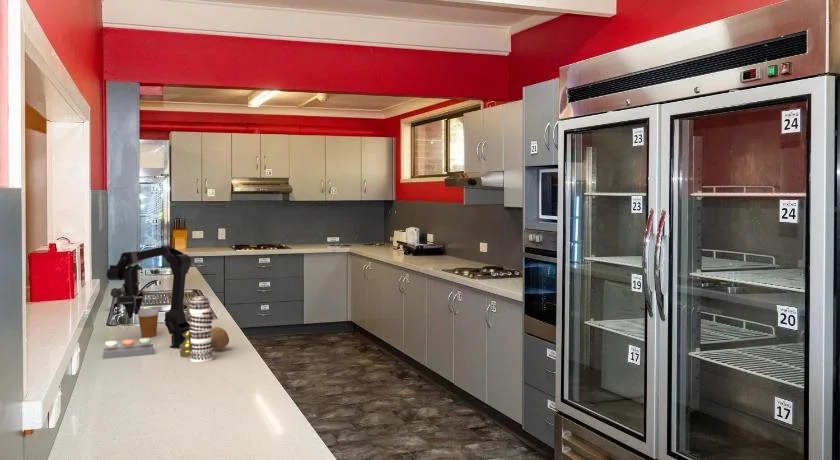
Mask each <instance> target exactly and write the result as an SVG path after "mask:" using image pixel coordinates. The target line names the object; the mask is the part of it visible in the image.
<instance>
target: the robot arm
mask: <svg viewBox="0 0 840 460" xmlns="http://www.w3.org/2000/svg"><path fill="white" fill-rule="evenodd" d="M161 256H162V257H163V258H164V259H165V260H166V262H167V263H169V264H170V270H171V272H172V275H173V278H172V279H173V280H172V290H171V301H170V302H171V303H170V309H169V310H167V311H165V312H164V320H163V322H164V325H165V327H166V328H167V331H168V333H169V335H171V345H170V346H169V348H173V349H180V344H182V343H183V342H184V341H185V337H184V336H183V335H182V334H183V333H184V332H186V331H190V329H189V327H190V325H189V323H190V322H188V321H187V319H186V313H185V311H184V308H183V306H184V297H185V295H184V294H185V287H186V285H185V284H186V276H187V274H188V272H189V270H190V267H191V264H192V258H191V257H190V256H189V255H188V254H185V253H183V252H182V251H180V250H178V249H176V248H174V247H173V246H171V245H170V244H169V245H162V246H159V247H155V248H151V249H150V248H149V249H146V250H132V251H126V252H125V251H124V252H122V253H121V255H120V259H119V260H118V262H117V264H110V265H109V267H108V270H107V272H106V277H107V280H109V281H123V282H124V283H122V285H121V286H122V287H120V288H117V287H114V288H112V289H111V292H110V296H111V297H112V299H113V300H114V299H116V298H118V297H119V298H118V303H120V305H121V306H123V307H124V308H125V310H126V313H127V317H128V319H132V318H133V316H134V315H137V314H138V312H139V310H141V307H142V303H143V301H144V299H145V297H146V291H144V290H143V289H141V290H139V289H140V287H139V286H140V284H141V283H140V281H139V271H141V270H142V269H143V268H142V267H141V266H140V265H139V264H138V263H141V262H143V261H145V260H148V259H152V258H157V257H161ZM133 314H134V315H133Z"/></svg>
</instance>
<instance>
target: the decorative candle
mask: <svg viewBox="0 0 840 460" xmlns="http://www.w3.org/2000/svg"><path fill="white" fill-rule="evenodd" d="M210 301H211V299H209V298H208V297H207V296H206V295H197V296H193V297H192V298H191V299H190V300H189V301H188V302H189V313H188V314H187V316H188V321H189V322H188V323H189V325H190V327H189V329H190V332H191V343H190V345H191V347H190V349H192V350H191V351H190V353H191V356H190V357H189V358H190V361H191V362H193V363H205V362H209V361H212V360H213V359H214V357H213V352H214V351H213V350H214V349H213V348H212V345H211V344H212V341H211V330H212V328H213V325H211V324H212V323H213V321H212V319H213V317H212V316H211V315H212V314H213V312H212V311H211V303H210Z"/></svg>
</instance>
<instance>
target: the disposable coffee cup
mask: <svg viewBox="0 0 840 460" xmlns="http://www.w3.org/2000/svg"><path fill="white" fill-rule="evenodd" d="M159 313H160V312H159V309H157V308H143V309H139V312H138V314H136V315H137V317H138V323H139V329H140V334H141V338H154V337H157V333H158V332H157V330H158V319H159V315H160V314H159Z"/></svg>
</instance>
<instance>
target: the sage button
mask: <svg viewBox="0 0 840 460" xmlns="http://www.w3.org/2000/svg"><path fill="white" fill-rule="evenodd" d="M151 338H152V337H149V338H144V337H140V338H139V341H138V343H139V345H147V344H152V341H151Z"/></svg>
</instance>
